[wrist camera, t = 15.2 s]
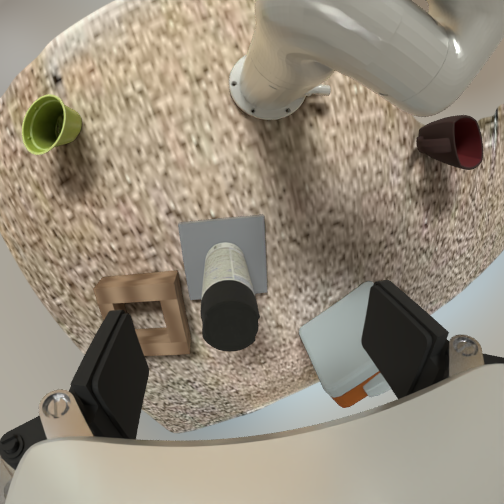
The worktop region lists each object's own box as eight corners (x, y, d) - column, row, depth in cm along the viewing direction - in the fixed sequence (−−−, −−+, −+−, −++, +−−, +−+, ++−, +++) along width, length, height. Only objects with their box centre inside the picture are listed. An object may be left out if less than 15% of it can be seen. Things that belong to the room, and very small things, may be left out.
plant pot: (49, 157, 37) (22, 160, 29) (48, 109, 33) (22, 104, 25) (90, 147, 38) (65, 147, 30) (90, 96, 34) (66, 86, 26)
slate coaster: (262, 214, 46) (264, 216, 45) (266, 289, 51) (267, 292, 49) (179, 222, 44) (178, 224, 43) (190, 296, 49) (190, 300, 48)
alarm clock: (314, 351, 58) (347, 420, 39) (295, 328, 55) (328, 402, 35) (381, 304, 56) (433, 359, 37) (368, 277, 53) (427, 332, 34)
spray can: (203, 275, 47) (197, 351, 28) (207, 237, 45) (201, 298, 26) (241, 279, 48) (257, 355, 29) (247, 242, 46) (268, 304, 27)
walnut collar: (177, 270, 47) (173, 282, 42) (191, 338, 52) (189, 353, 48) (102, 277, 46) (93, 289, 41) (123, 340, 51) (117, 355, 46)
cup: (446, 159, 46) (485, 165, 35) (403, 169, 46) (444, 177, 35) (438, 115, 42) (477, 114, 31) (392, 120, 42) (434, 117, 31)
